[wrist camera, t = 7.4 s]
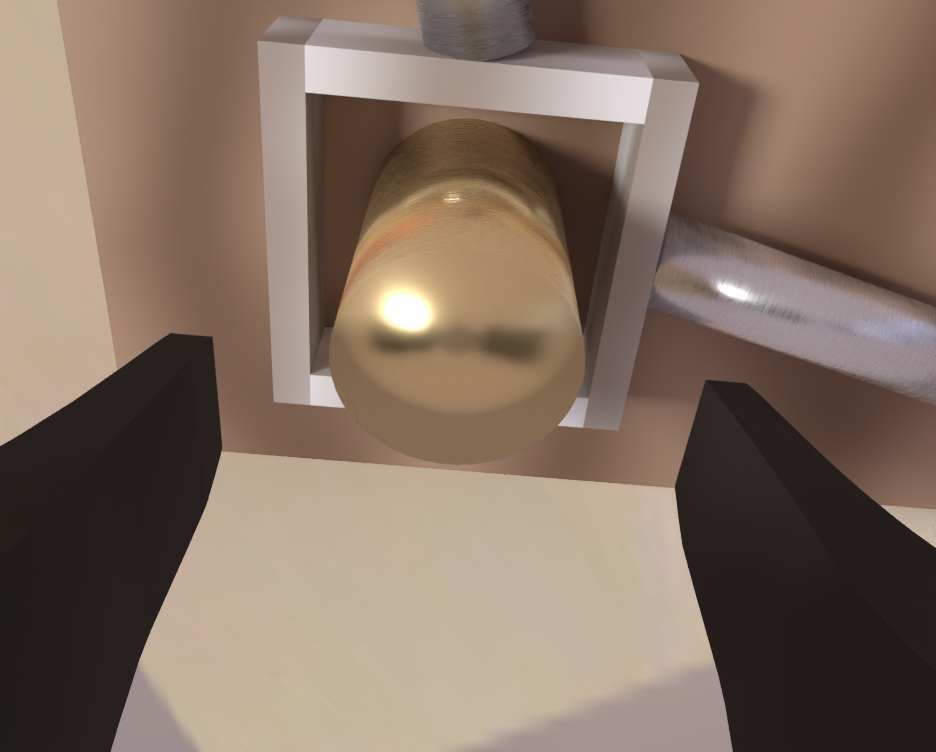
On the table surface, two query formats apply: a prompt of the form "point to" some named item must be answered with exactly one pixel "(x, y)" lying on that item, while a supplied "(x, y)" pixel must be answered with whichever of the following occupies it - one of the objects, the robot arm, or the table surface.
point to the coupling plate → (578, 183)
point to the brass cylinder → (460, 300)
